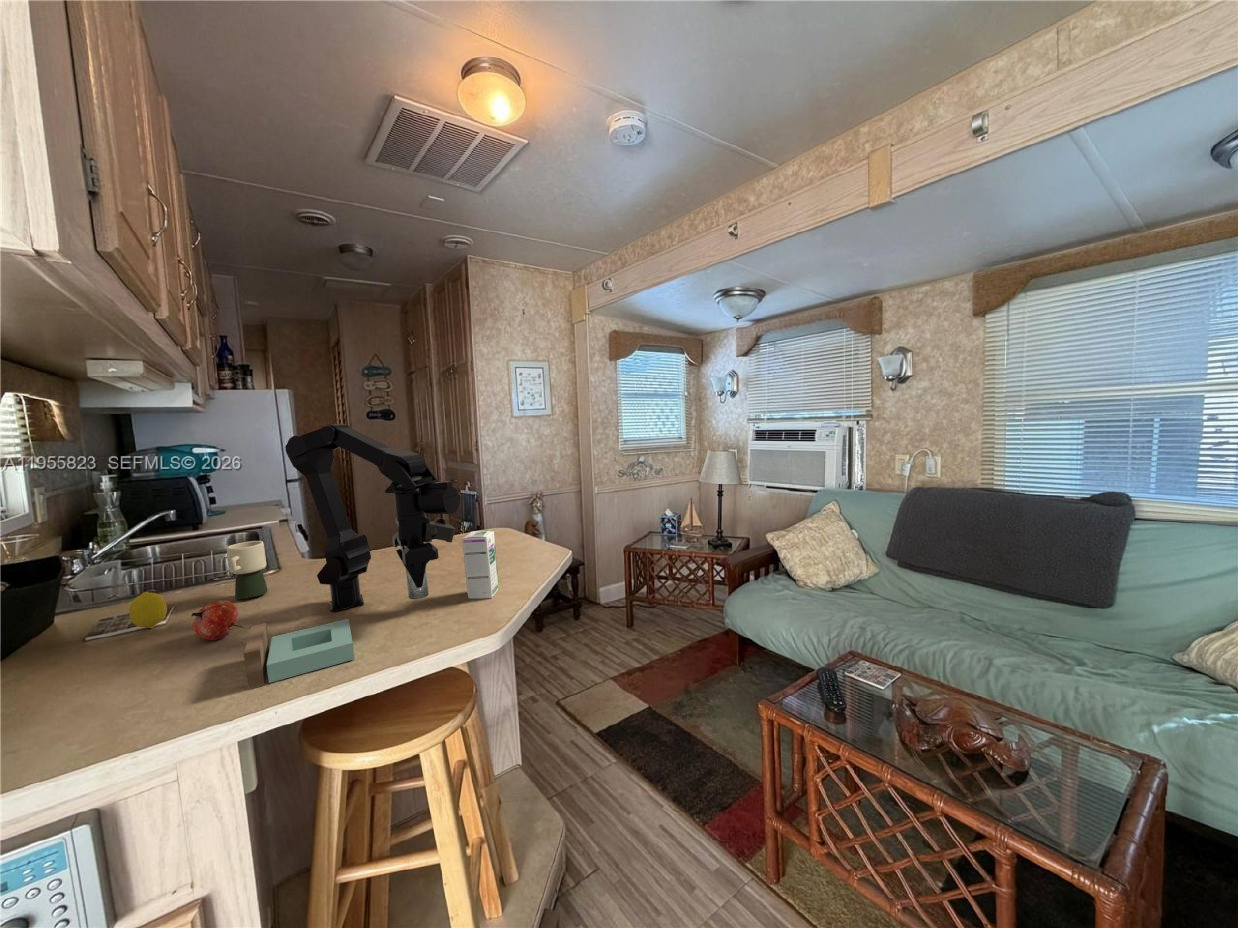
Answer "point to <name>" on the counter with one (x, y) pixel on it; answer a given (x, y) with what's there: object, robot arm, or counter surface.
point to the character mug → (248, 568)
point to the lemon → (147, 610)
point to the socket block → (309, 650)
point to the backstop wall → (257, 656)
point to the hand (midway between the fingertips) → (417, 584)
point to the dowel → (417, 592)
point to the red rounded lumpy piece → (215, 620)
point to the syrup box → (480, 564)
